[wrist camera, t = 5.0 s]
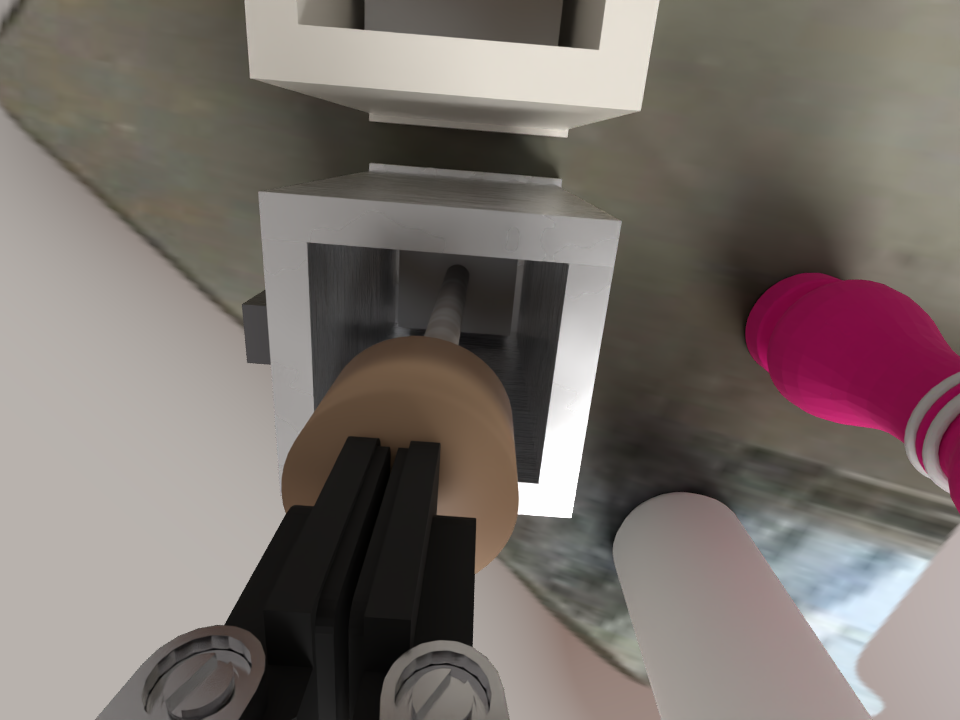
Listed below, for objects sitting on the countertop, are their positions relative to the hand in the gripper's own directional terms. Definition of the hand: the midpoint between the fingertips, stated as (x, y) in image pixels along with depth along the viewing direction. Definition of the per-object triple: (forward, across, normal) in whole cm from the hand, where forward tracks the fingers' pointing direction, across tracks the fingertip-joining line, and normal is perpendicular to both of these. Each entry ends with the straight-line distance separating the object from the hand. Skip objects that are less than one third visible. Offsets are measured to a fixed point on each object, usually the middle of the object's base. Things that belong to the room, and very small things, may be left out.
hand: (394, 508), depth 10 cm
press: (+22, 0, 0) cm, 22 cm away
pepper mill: (+22, -20, +2) cm, 30 cm away
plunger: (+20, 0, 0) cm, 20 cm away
